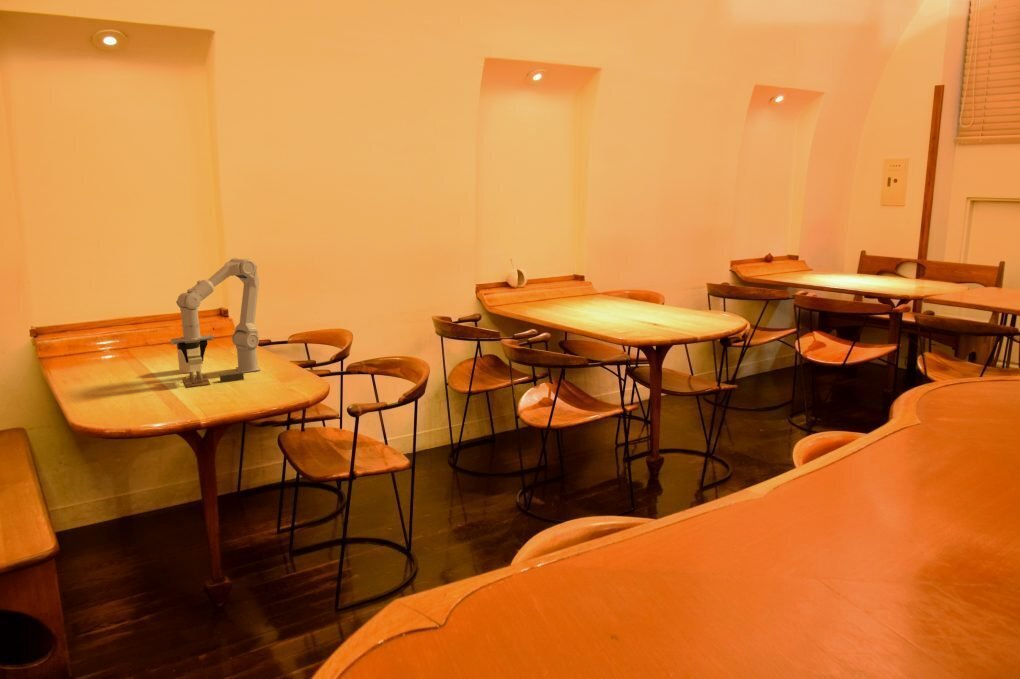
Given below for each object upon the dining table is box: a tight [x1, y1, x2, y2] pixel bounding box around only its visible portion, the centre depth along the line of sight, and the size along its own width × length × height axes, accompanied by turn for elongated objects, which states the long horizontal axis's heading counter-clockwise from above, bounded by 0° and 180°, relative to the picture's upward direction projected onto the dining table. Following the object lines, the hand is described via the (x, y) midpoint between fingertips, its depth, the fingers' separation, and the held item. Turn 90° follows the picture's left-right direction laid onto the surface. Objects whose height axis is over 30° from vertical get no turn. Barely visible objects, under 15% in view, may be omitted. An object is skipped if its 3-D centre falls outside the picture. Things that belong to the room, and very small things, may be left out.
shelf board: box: [187, 354, 204, 365], centre depth 273 cm, size 10×4×2 cm, turn 29°
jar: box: [176, 342, 203, 374], centre depth 291 cm, size 9×8×12 cm
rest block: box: [219, 371, 245, 383], centre depth 276 cm, size 3×8×2 cm, turn 119°
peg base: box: [182, 371, 211, 389], centre depth 274 cm, size 14×8×3 cm, turn 29°
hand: (194, 361), depth 273 cm, fingers closed on shelf board, 4 cm apart
